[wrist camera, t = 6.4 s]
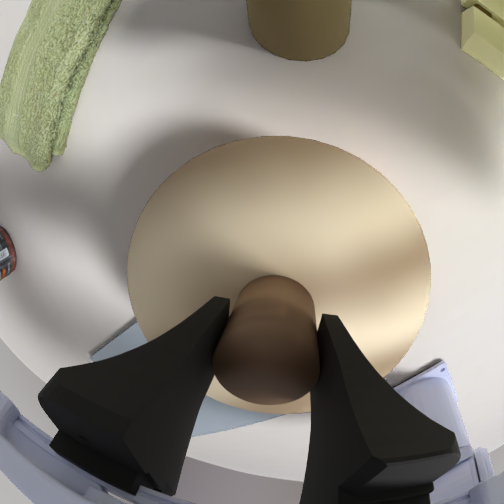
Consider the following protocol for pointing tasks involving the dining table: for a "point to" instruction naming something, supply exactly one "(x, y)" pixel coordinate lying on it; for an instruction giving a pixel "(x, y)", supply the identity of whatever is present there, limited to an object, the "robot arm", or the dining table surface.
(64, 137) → the washcloth
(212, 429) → the slate mat
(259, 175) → the birch lid
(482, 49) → the slatted curved stool
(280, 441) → the dining table surface
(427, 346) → the dining table surface
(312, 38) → the cork
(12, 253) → the supplement bottle
